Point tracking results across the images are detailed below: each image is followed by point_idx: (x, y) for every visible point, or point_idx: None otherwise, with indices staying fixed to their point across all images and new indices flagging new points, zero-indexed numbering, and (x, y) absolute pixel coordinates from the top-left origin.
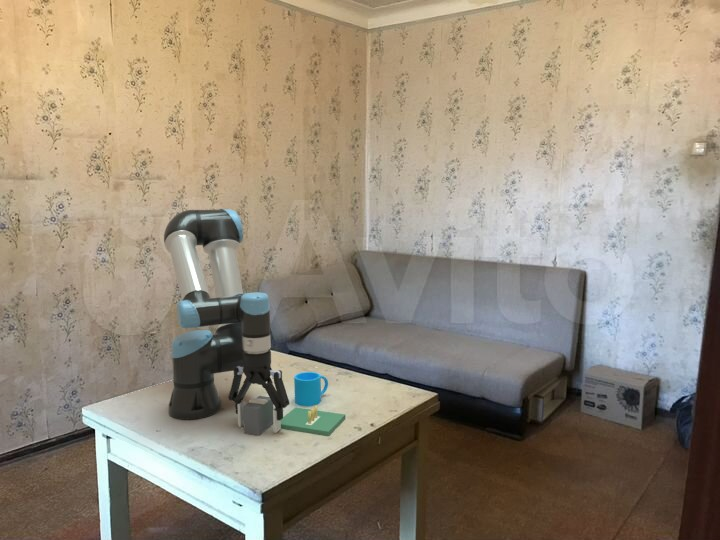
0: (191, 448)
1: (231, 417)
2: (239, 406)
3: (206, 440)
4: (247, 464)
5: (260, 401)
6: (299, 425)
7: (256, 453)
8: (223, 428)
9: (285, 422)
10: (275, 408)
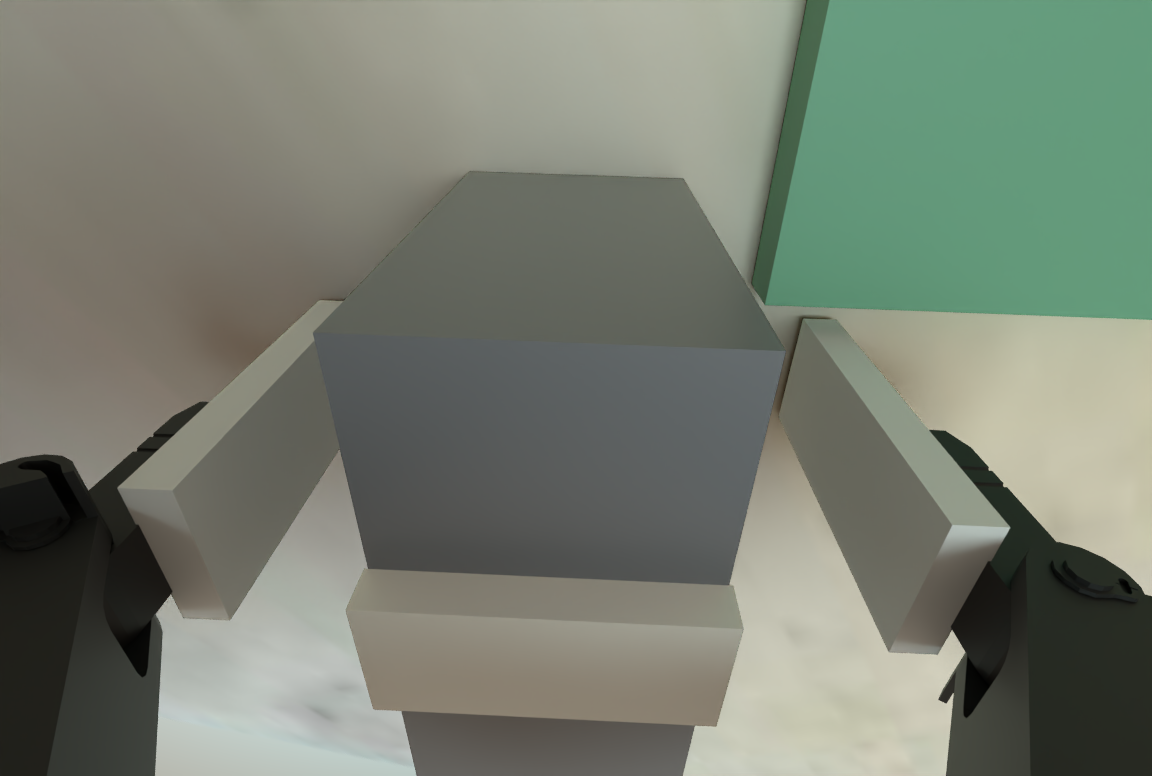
0: (301, 707)
1: (35, 177)
2: (240, 594)
3: (294, 626)
4: (749, 761)
5: (626, 709)
6: (1126, 275)
7: (753, 680)
8: None
9: (899, 243)
10: (925, 614)
